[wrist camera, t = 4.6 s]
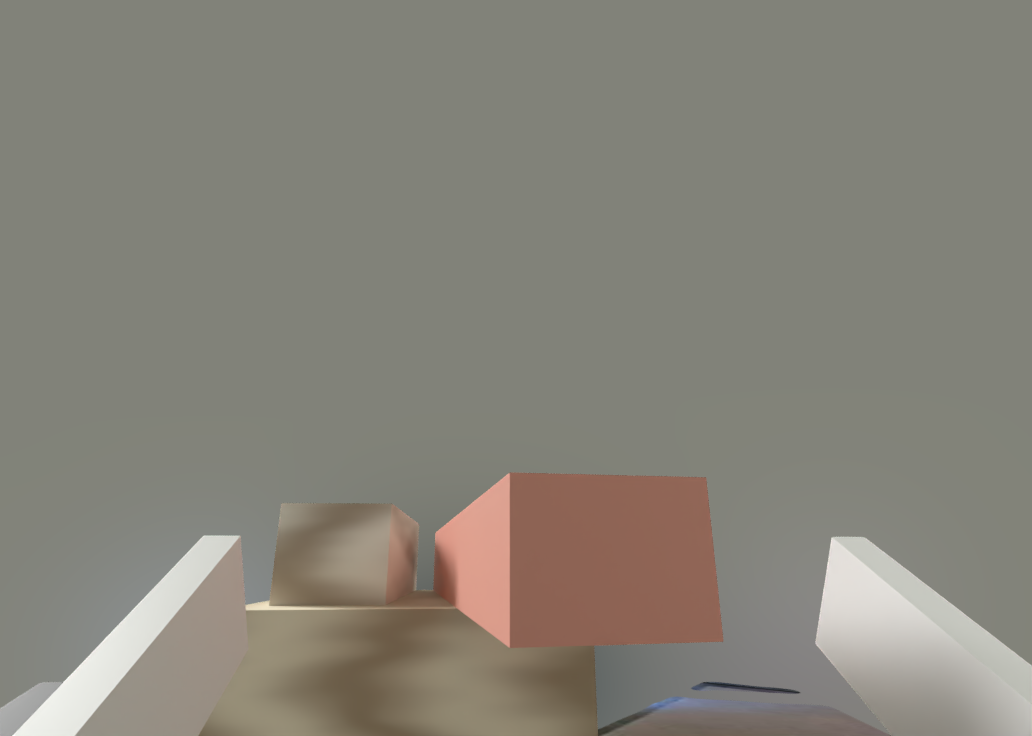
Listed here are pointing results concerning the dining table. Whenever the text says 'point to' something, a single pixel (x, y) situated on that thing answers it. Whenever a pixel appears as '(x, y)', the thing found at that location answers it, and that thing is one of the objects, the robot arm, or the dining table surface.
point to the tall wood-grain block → (386, 646)
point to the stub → (584, 561)
